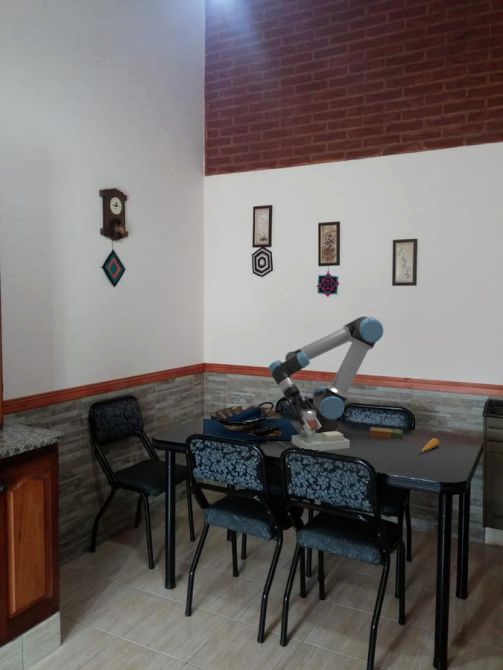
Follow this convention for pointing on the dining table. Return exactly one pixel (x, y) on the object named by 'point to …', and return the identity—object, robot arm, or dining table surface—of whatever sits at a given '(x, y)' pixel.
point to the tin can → (311, 421)
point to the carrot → (431, 444)
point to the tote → (319, 443)
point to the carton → (385, 433)
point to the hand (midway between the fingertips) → (313, 429)
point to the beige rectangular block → (332, 436)
